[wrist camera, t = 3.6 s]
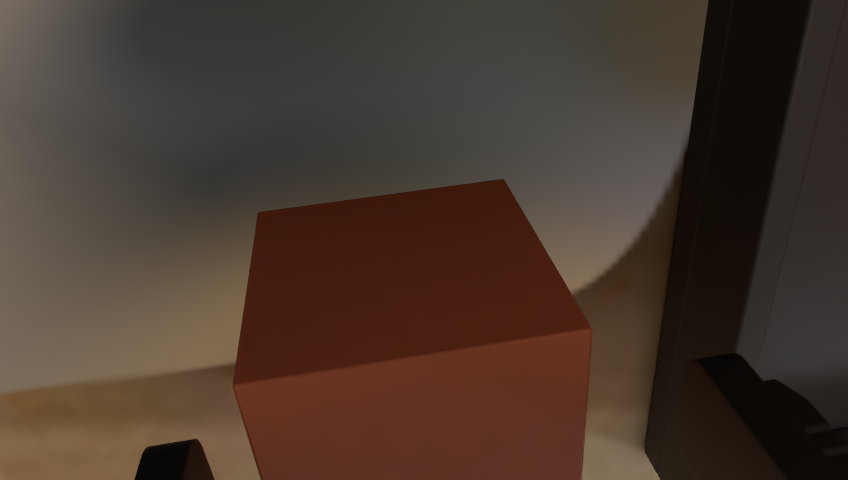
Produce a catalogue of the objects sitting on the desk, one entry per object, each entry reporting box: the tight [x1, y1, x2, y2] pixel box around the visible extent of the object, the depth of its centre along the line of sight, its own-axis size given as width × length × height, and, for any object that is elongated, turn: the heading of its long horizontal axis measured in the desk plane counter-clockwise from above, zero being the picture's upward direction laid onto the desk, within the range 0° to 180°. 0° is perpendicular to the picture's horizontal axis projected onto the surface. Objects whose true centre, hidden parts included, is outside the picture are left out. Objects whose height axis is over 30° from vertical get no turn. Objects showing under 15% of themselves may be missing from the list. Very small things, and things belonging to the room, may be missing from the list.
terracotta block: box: [233, 179, 592, 480], centre depth 12 cm, size 5×5×5 cm
